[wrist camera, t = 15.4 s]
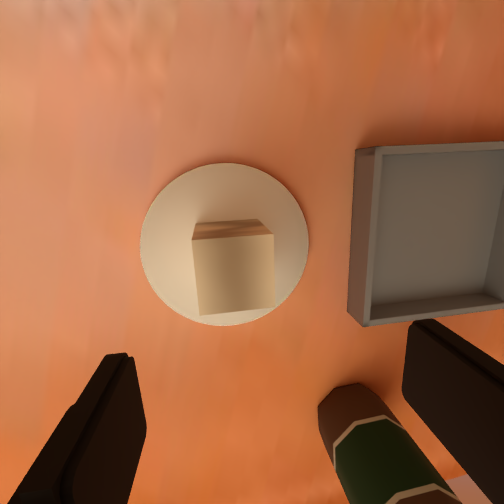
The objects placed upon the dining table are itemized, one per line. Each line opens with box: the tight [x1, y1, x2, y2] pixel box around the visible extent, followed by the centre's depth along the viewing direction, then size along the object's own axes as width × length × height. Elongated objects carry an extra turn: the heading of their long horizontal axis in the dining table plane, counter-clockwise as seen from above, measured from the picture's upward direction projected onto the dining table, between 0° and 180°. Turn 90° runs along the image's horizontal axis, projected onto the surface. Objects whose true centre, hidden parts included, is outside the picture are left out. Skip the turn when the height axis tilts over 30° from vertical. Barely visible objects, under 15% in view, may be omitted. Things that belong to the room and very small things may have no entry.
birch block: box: [191, 219, 275, 316], centre depth 20 cm, size 5×5×6 cm
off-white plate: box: [140, 163, 309, 326], centre depth 24 cm, size 14×14×1 cm
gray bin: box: [347, 141, 504, 327], centre depth 25 cm, size 15×15×3 cm
